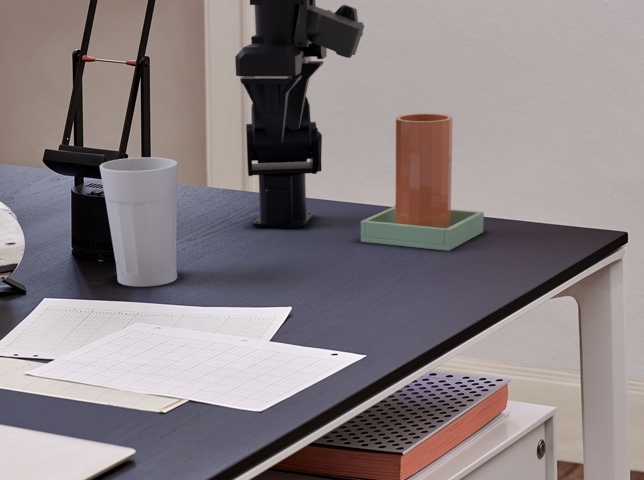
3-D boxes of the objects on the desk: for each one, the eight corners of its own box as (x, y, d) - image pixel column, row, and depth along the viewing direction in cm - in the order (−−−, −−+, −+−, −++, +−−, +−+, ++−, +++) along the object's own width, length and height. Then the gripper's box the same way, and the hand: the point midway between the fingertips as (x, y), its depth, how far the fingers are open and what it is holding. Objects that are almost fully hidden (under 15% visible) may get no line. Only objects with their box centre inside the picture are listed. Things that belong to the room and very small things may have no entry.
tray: (360, 241, 158) (360, 221, 157) (398, 224, 166) (398, 204, 165) (449, 251, 153) (449, 229, 152) (483, 232, 161) (484, 211, 160)
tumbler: (386, 229, 160) (386, 116, 155) (434, 223, 163) (435, 111, 157) (410, 240, 155) (411, 123, 150) (459, 234, 157) (462, 119, 152)
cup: (148, 265, 149) (139, 154, 144) (200, 276, 145) (193, 162, 140) (94, 281, 144) (83, 166, 139) (146, 292, 139) (137, 174, 134)
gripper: (342, -13, 131) (344, 152, 137) (370, -24, 147) (371, 123, 154) (230, -12, 133) (238, 151, 139) (271, -23, 149) (276, 123, 156)
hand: (285, 136), depth 147 cm, fingers open, 9 cm apart
